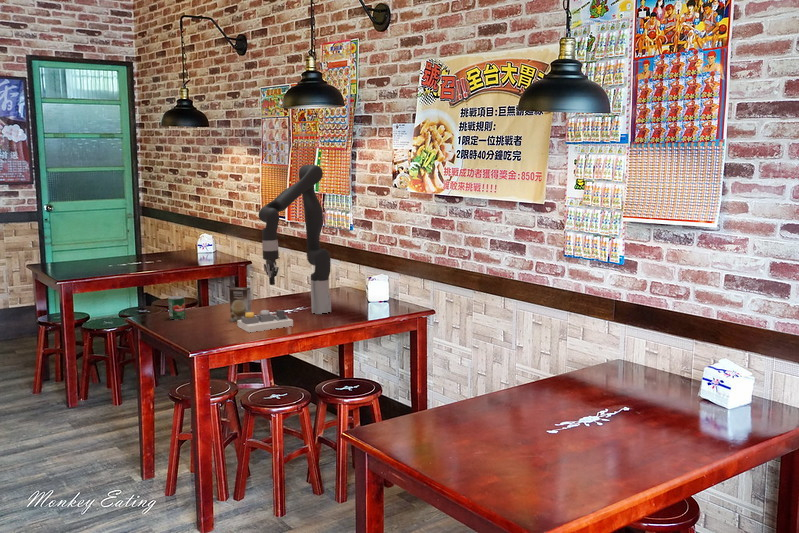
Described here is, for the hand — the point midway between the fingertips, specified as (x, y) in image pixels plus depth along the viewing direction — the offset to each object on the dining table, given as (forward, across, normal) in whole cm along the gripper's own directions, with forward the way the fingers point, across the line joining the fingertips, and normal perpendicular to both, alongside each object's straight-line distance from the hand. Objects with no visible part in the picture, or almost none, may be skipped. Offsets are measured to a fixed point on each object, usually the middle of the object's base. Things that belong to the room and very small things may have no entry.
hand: (272, 284), depth 360 cm
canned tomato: (+18, +34, +37) cm, 54 cm away
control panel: (+18, -7, +7) cm, 21 cm away
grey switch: (+14, -7, +7) cm, 17 cm away
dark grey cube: (+15, -9, 0) cm, 18 cm away
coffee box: (+18, +12, +12) cm, 25 cm away
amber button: (+14, -7, +15) cm, 21 cm away
